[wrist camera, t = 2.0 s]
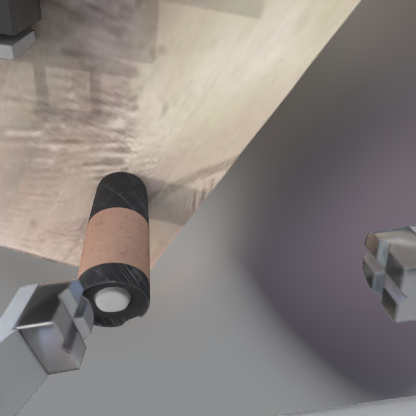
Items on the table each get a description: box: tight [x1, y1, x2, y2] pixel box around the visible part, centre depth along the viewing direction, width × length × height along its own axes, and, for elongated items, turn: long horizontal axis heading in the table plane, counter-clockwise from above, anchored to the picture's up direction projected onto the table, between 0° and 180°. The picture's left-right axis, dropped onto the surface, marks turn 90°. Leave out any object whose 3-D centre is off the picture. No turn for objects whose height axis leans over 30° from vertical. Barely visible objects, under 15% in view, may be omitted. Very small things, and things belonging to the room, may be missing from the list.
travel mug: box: [77, 172, 150, 327], centre depth 40 cm, size 8×8×20 cm
